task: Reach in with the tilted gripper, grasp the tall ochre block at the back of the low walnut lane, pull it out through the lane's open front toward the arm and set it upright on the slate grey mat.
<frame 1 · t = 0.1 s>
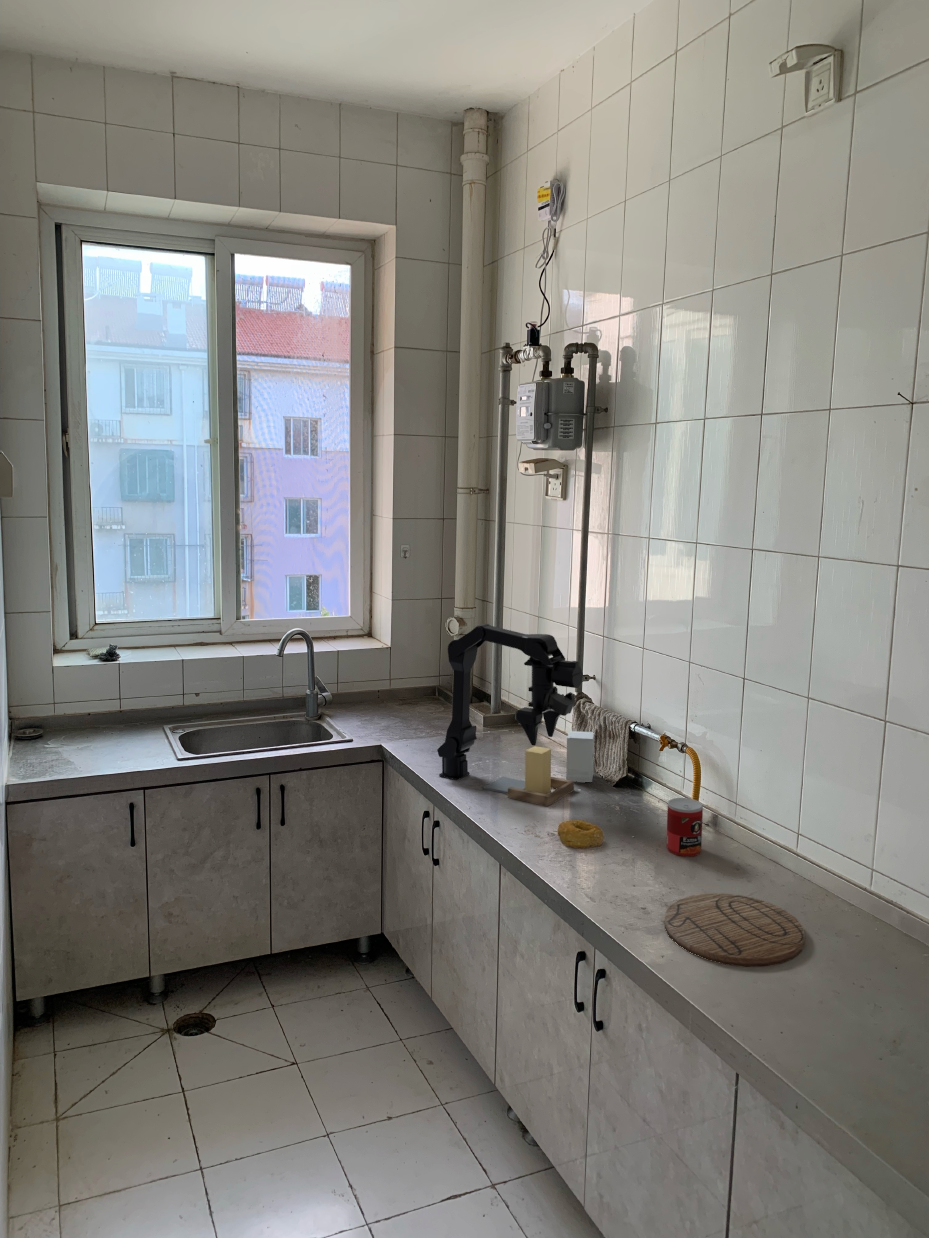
hand: (542, 740, 243), 15 cm above the table, tool pointing down, fingers open, 9 cm apart
slate mat: (508, 786, 251), on the table
canned food: (683, 850, 209), on the table
bagel: (580, 842, 214), on the table
trivet: (732, 934, 172), on the table
supplement box: (580, 778, 258), on the table
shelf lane: (539, 793, 246), on the table
ochre block: (537, 793, 246), on the table
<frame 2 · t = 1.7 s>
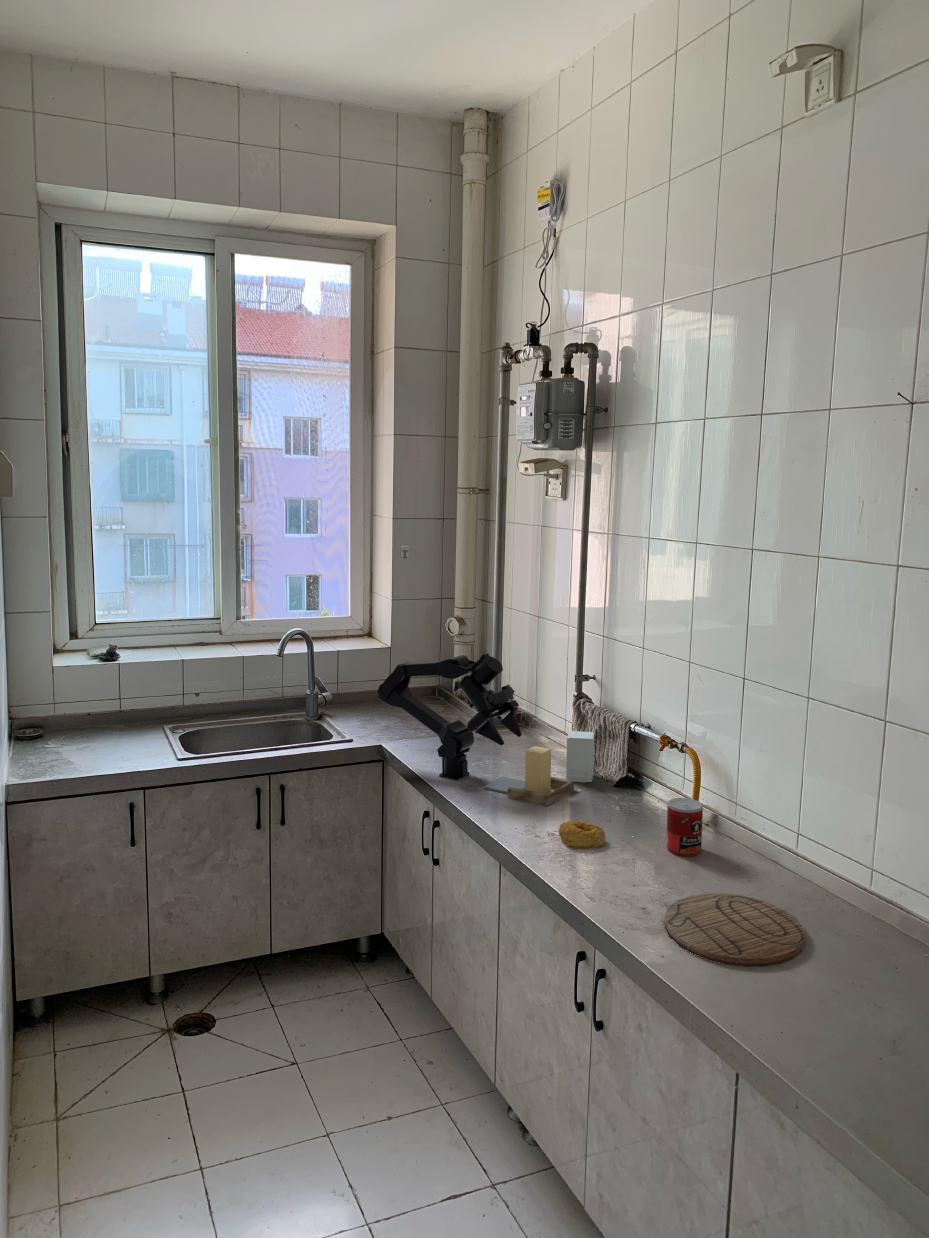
hand: (511, 740, 248), 13 cm above the table, tool tilted 45°, fingers open, 9 cm apart
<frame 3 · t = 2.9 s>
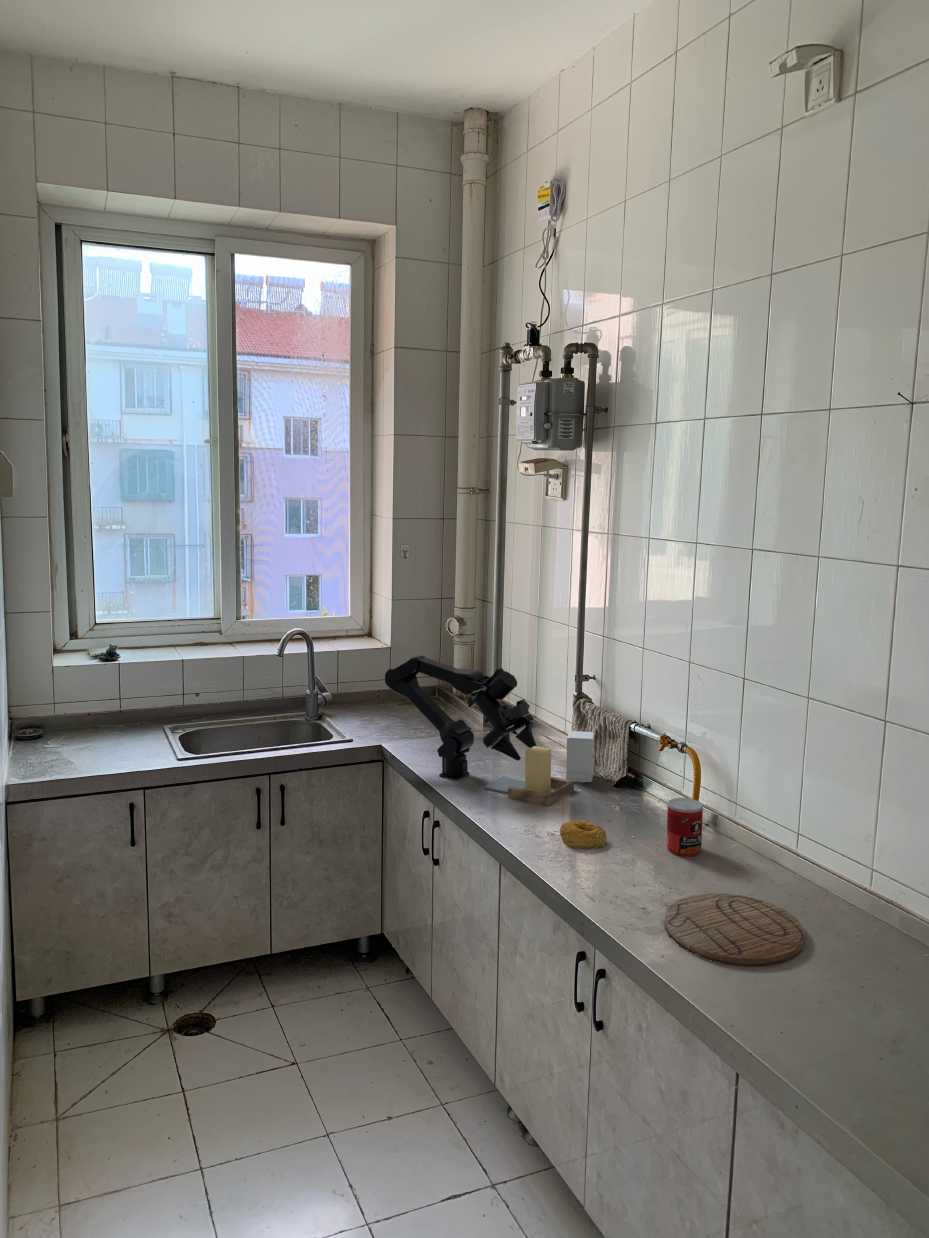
hand: (528, 755, 246), 10 cm above the table, tool tilted 45°, fingers open, 9 cm apart
nothing on the table moved.
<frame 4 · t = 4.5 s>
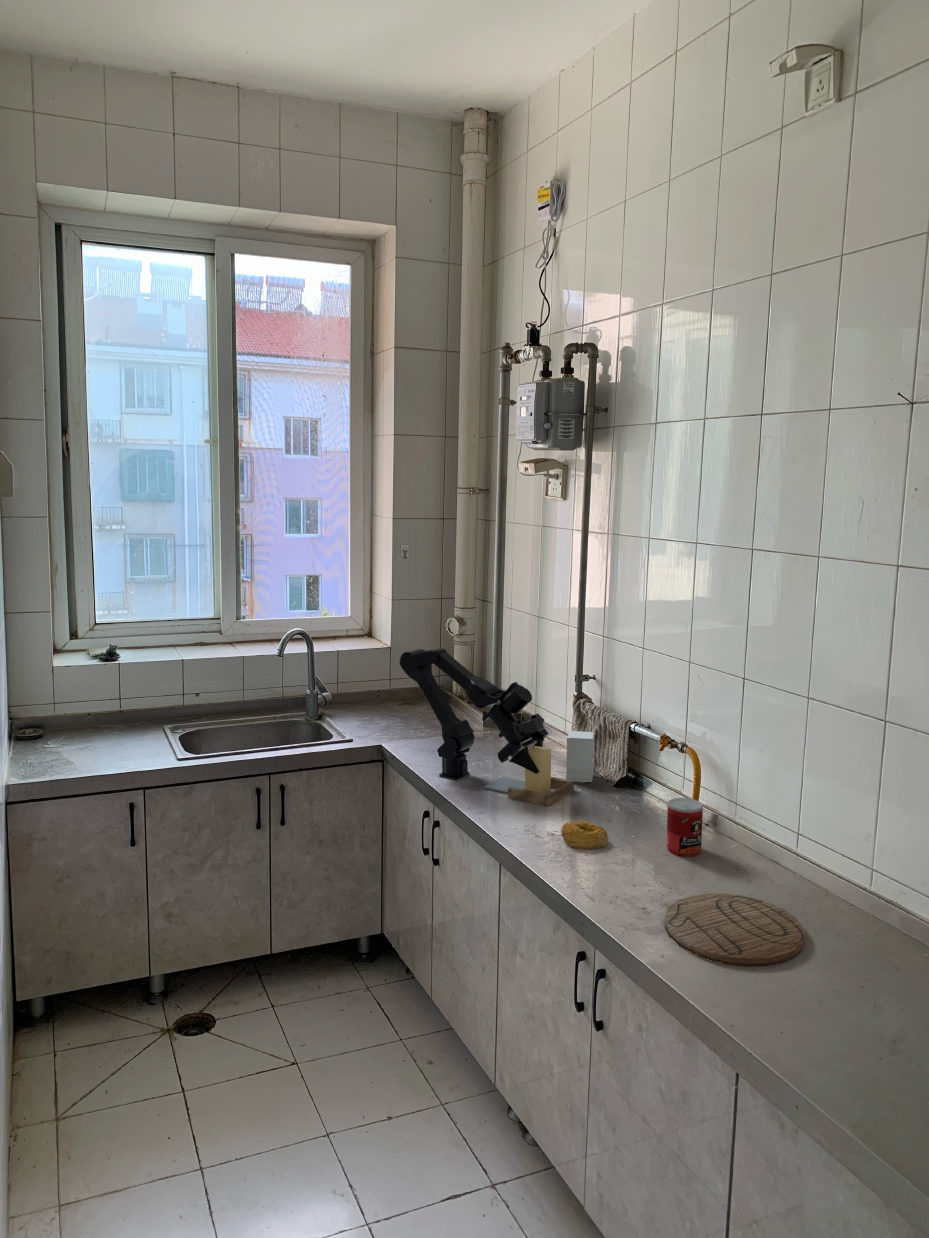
hand: (542, 770, 244), 7 cm above the table, tool tilted 45°, fingers closed on ochre block, 5 cm apart
ochre block: (537, 793, 246), on the table, touching gripper
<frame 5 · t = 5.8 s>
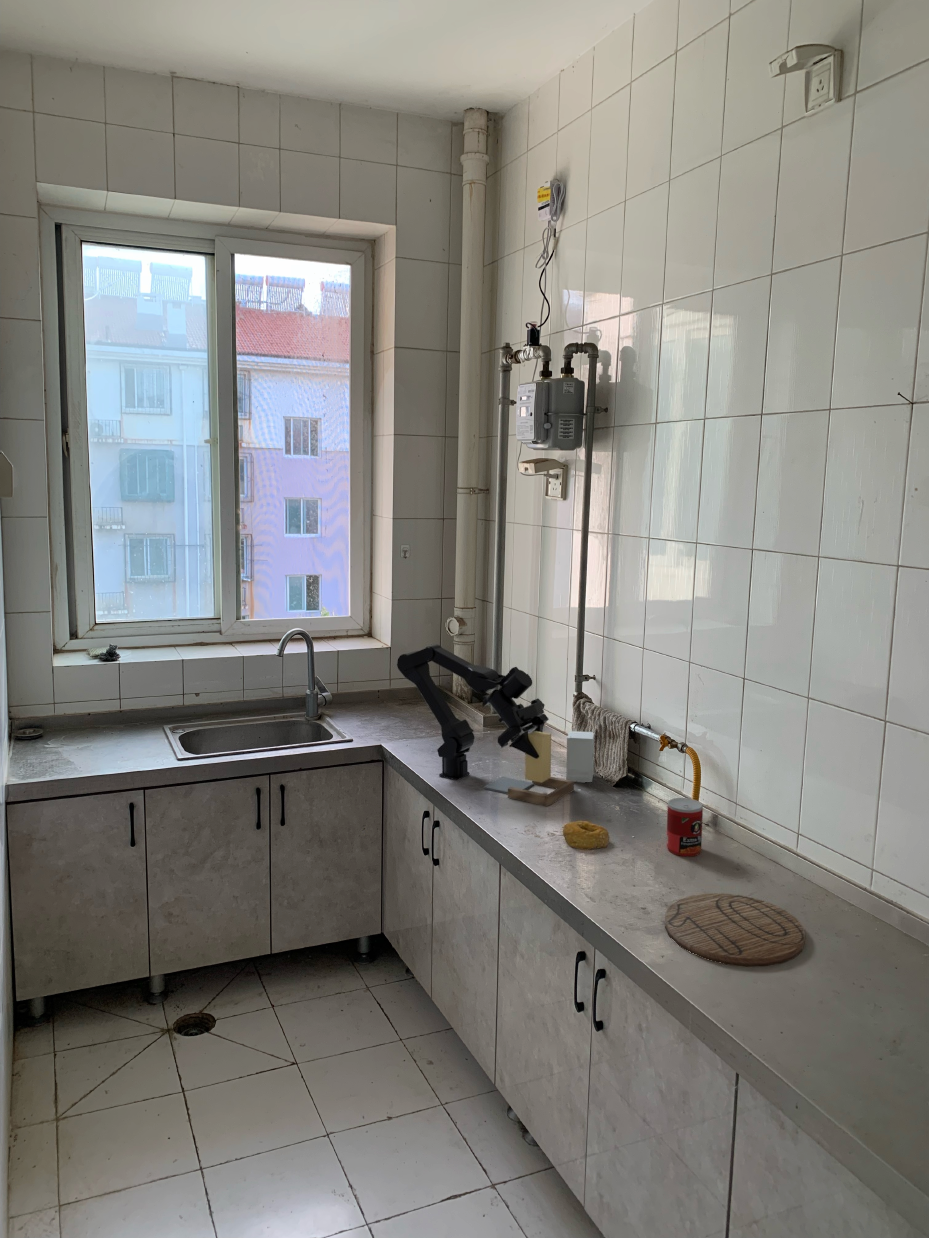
hand: (542, 755, 244), 11 cm above the table, tool tilted 45°, fingers closed on ochre block, 5 cm apart
ochre block: (537, 778, 246), point 4 cm above the table, touching gripper
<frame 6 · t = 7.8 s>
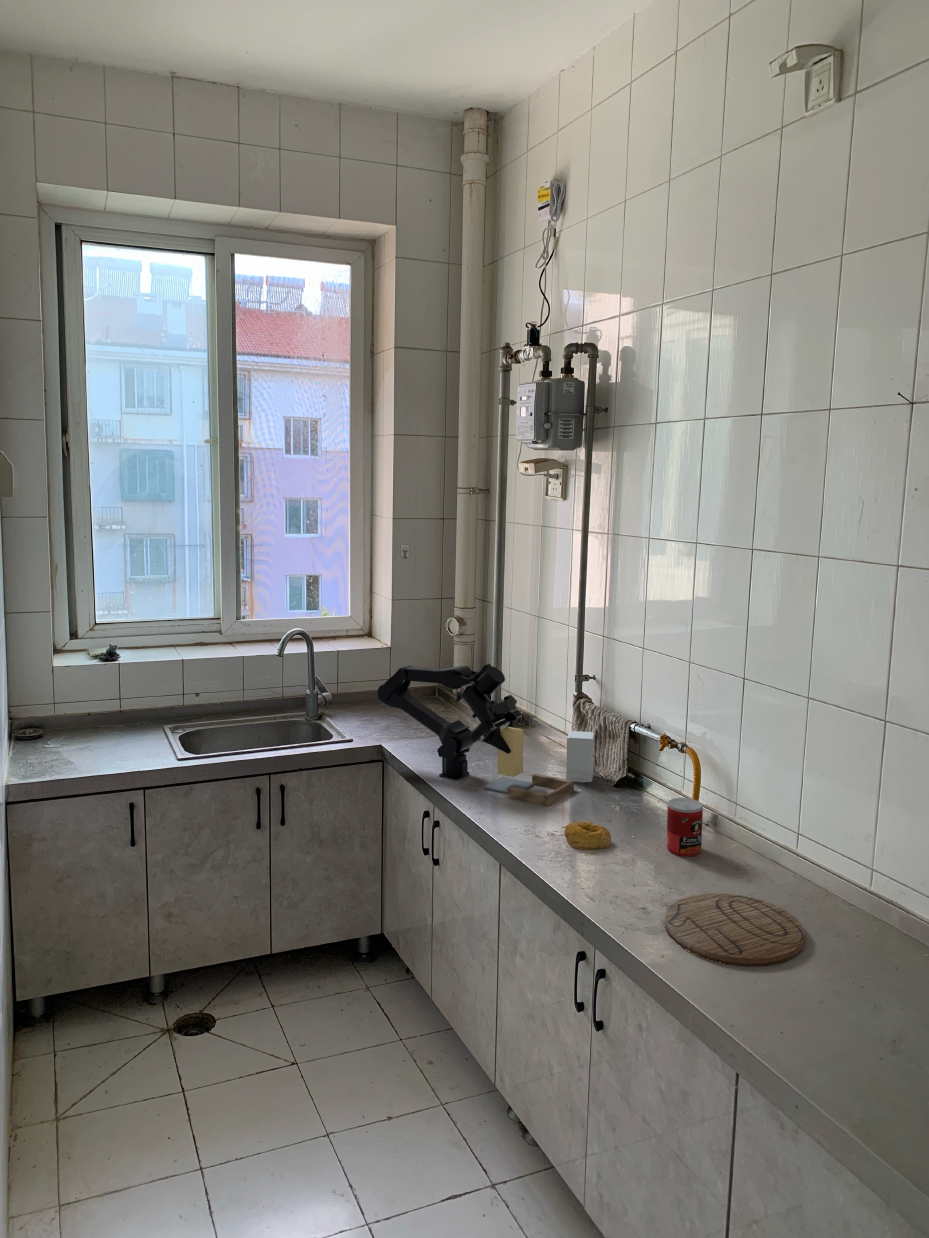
hand: (514, 750, 248), 11 cm above the table, tool tilted 45°, fingers closed on ochre block, 5 cm apart
ochre block: (510, 772, 250), point 4 cm above the table, touching gripper
when the fingers open (8 cm above the table, at t = 8.9 s): ochre block stays where it is, resting on slate mat.
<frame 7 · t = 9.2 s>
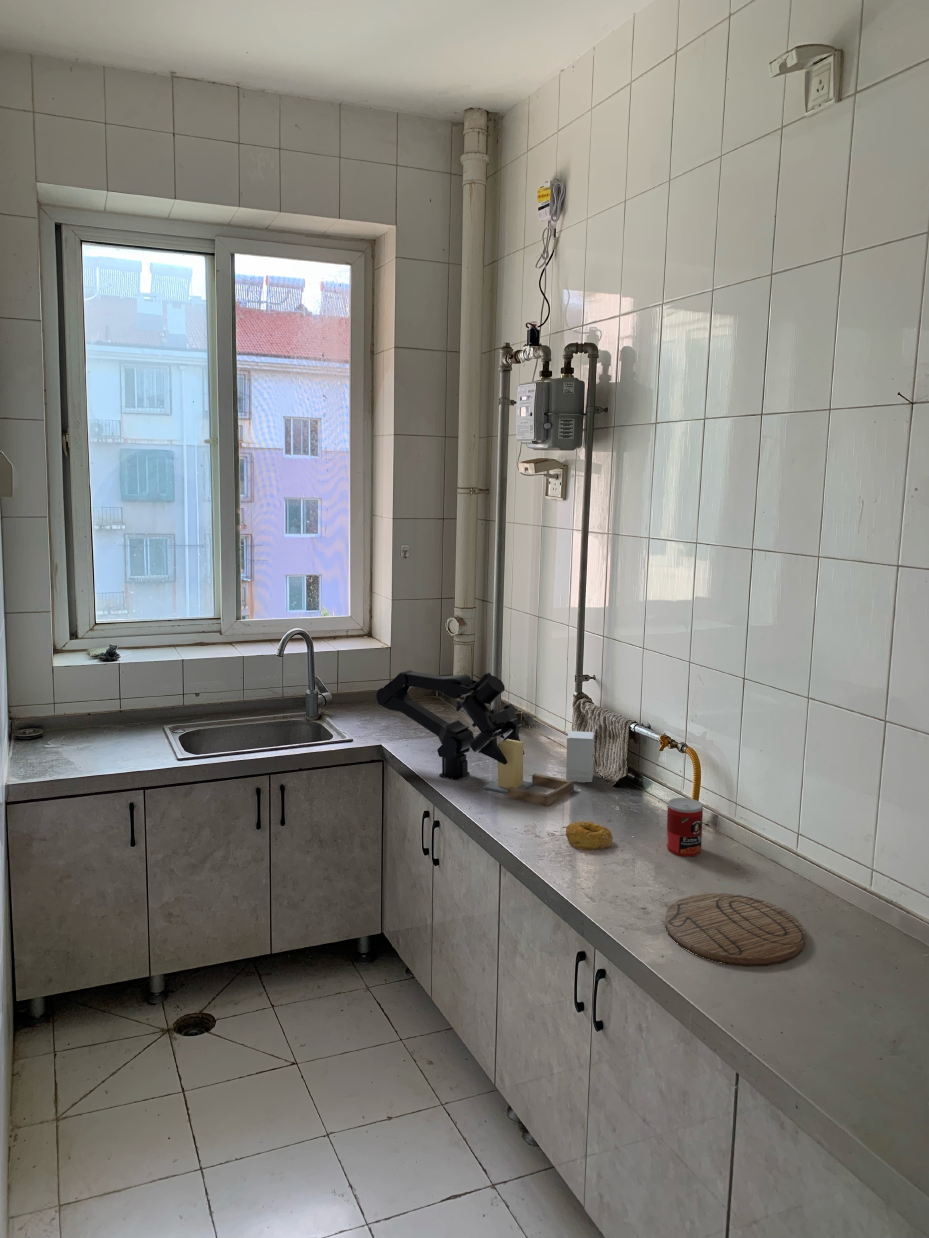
hand: (515, 759, 249), 8 cm above the table, tool tilted 45°, fingers open, 9 cm apart
ochre block: (510, 785, 251), point 1 cm above the table, touching slate mat
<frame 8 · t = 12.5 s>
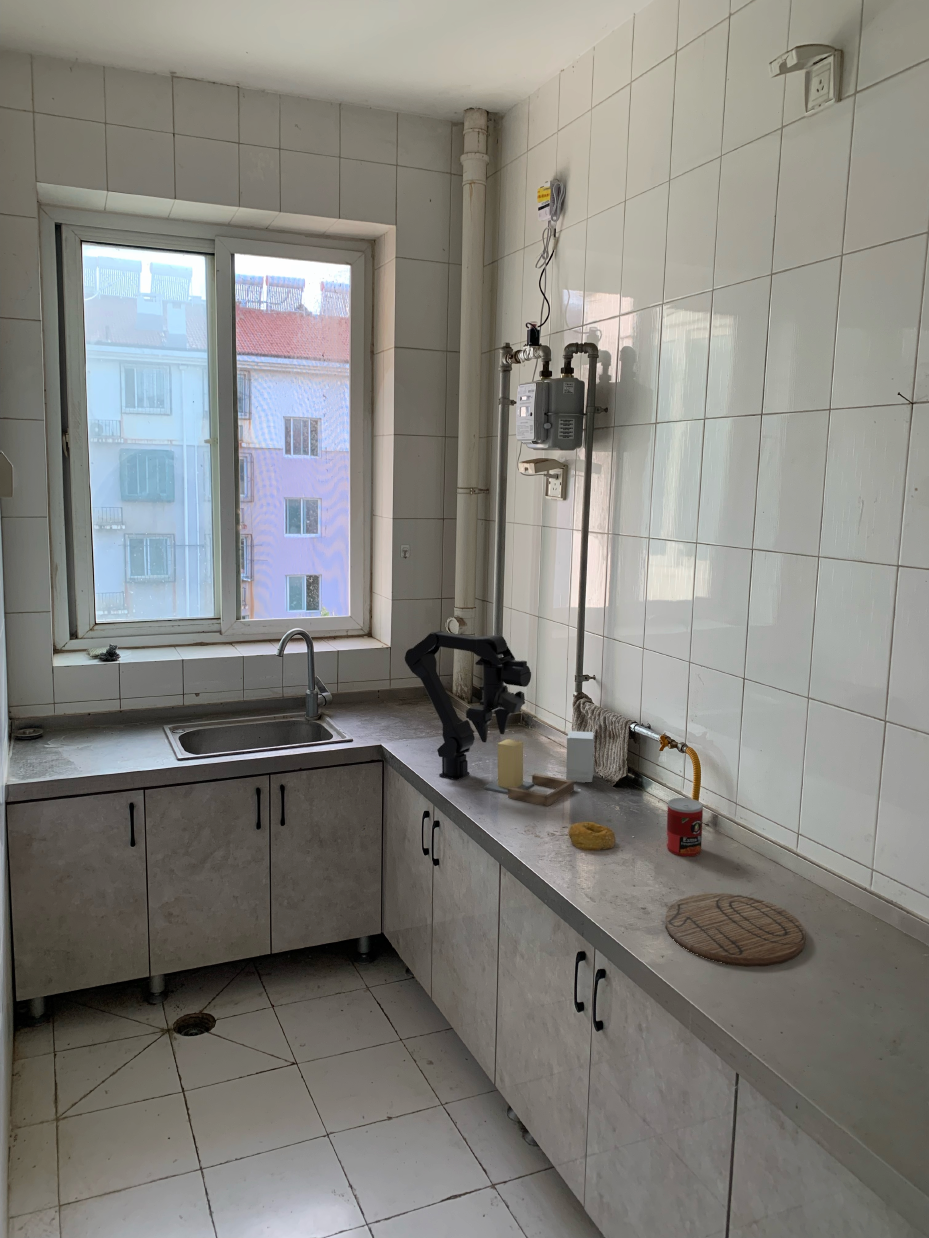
hand: (493, 738, 252), 13 cm above the table, tool pointing down, fingers open, 9 cm apart
at the end: ochre block inside the target area (0.5 cm from its centre), point 0.6 cm above the table; ochre block tilted 0°; the gripper is holding nothing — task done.
